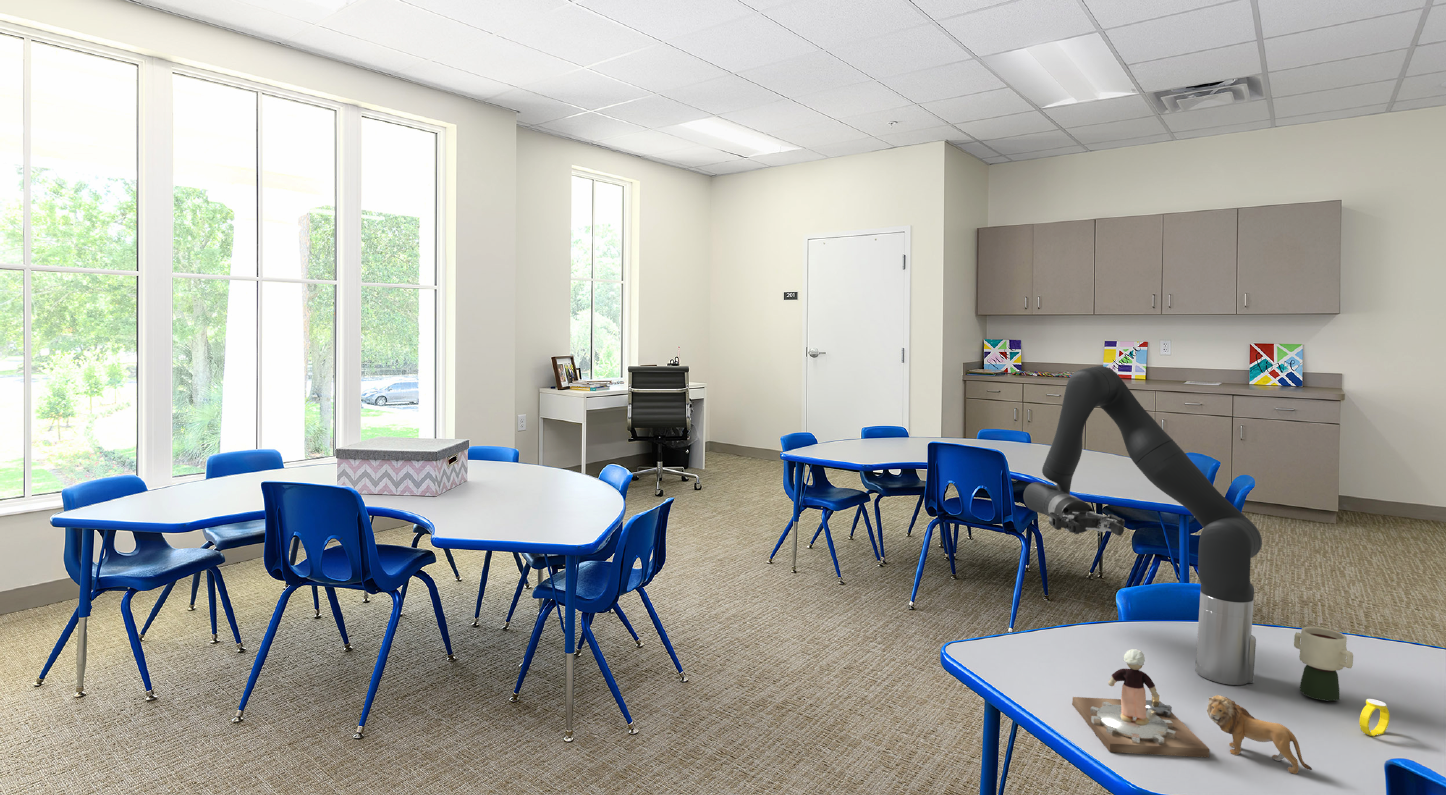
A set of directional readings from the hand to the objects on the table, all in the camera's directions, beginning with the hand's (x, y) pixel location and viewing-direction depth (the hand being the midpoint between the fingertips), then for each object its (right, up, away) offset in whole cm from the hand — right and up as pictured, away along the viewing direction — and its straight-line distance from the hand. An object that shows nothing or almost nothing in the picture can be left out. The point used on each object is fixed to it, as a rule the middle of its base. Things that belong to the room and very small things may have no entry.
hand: (1099, 530), depth 159 cm
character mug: (+39, -31, -9) cm, 51 cm away
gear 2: (+1, -30, -19) cm, 35 cm away
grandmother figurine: (-6, -29, -24) cm, 39 cm away
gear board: (-4, -32, -23) cm, 39 cm away
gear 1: (-6, -30, -24) cm, 39 cm away
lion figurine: (+10, -33, -31) cm, 47 cm away
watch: (+38, -33, -23) cm, 55 cm away
